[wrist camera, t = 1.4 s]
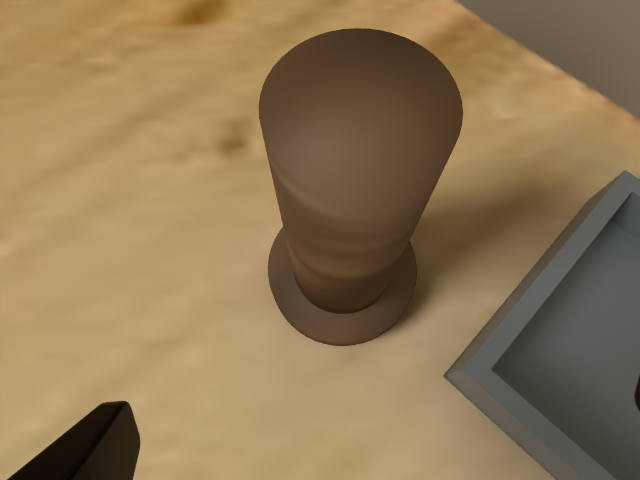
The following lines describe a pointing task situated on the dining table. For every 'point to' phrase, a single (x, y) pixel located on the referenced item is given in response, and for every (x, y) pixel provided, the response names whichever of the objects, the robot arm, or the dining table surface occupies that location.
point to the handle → (353, 176)
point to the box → (570, 347)
